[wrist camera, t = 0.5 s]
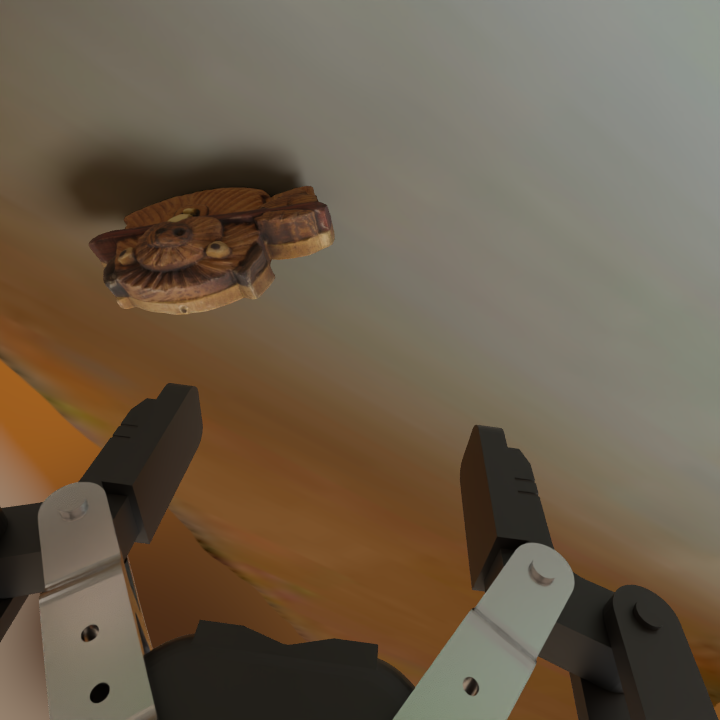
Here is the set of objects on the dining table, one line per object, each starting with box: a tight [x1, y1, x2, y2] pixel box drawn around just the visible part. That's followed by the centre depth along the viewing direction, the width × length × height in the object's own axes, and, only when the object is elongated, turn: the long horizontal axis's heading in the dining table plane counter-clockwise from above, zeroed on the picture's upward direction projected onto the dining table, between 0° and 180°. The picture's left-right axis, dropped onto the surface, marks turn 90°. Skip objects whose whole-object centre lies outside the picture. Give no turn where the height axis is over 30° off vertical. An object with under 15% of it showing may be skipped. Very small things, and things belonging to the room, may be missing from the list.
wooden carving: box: [89, 186, 334, 315], centre depth 30 cm, size 16×5×10 cm, turn 105°
